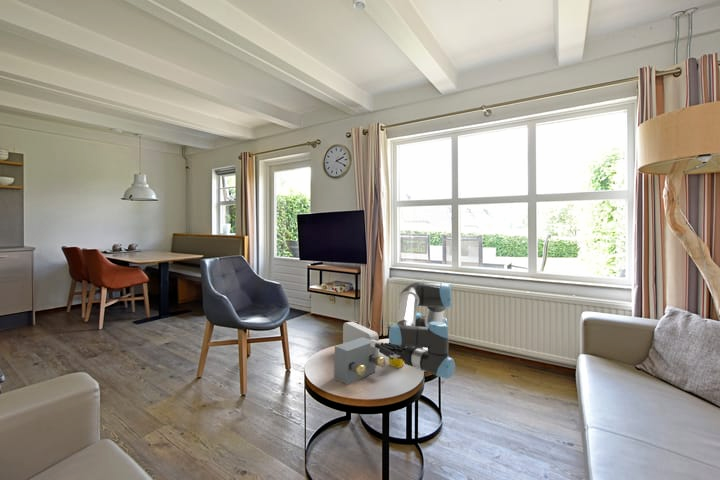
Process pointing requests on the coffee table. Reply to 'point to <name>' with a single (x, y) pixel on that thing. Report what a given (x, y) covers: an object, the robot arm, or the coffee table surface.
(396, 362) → the figure statuette
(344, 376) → the knob housing
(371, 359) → the knob
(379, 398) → the coffee table surface
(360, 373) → the knob
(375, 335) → the rounded white slab
